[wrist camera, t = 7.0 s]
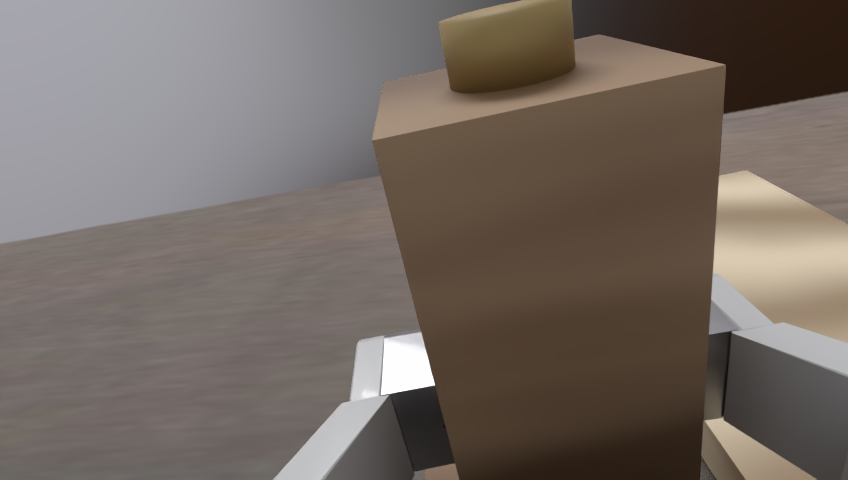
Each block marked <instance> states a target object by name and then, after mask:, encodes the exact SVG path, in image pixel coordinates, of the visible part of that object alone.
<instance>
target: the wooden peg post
mask: <svg viewBox="0 0 848 480" xmlns="http://www.w3.org/2000/svg"><path fill="white" fill-rule="evenodd" d="M439 28H440V33H441V39H442V45H443V50H444V56H445V62H446V67H447V68H445V69H440V70H436V71H431V72H427V73H422V74H418V75H413V76H408V77H404V78H400V79H395V80H390V81H386V82H383V87H382V92H381V98H380V102H379V108H378V113H377V118H376V123H375V128H374V133H373V138H372V143H373V147H374V150H375V154H376V158H377V162H378V166H379V170H380V174H381V178H382V182H383V185H384V189H385V193H386V197H387V201H388V205H389V209H390V213H391V217H392V220H393V224H394V228H395V232H396V236H397V240H398V244H399V248H400V251H401V255H402V259H403V263H404V267H405V271H406V275H407V279H408V283H409V286H410V290H411V294H412V298H413V302H414V306H415V310H416V314H417V318H418V321H419V325H420V329H421V333H422V337H423V341H424V345H425V349H426V353H427V356H428V360H429V364H430V368H431V372H432V376H433V380H434V384H435V387H436V391H437V395H438V399H439V403H440V407H441V411H442V415H443V419H444V422H445V426H446V430H447V434H448V438H449V442H450V446H451V450H452V454H453V457H454V461H455V463H454V464H449V465H444V466H439V467H434V468H429V469H425V480H700V467H701V452H702V436H703V420H704V404H705V388H706V373H707V357H708V341H709V325H710V310H711V294H712V278H713V262H714V246H715V231H716V215H717V199H718V183H719V168H720V152H721V136H722V120H723V104H724V88H725V73H726V65H724V64H720V63H716V62H712V61H707V60H703V59H699V58H695V57H691V56H687V55H683V54H679V53H674V52H670V51H666V50H662V49H658V48H654V47H649V46H645V45H641V44H637V43H633V42H629V41H624V40H620V39H616V38H612V37H608V36H603V35H595V36H590V37H585V38H581V39H577V40H574V34H573V33H574V32H573V17H572V3H571V0H522V1H517V2H512V3H507V4H502V5H498V6H493V7H489V8H484V9H480V10H477V11H472V12H469V13H465V14H462V15H458V16H454V17H451V18H448V19H445V20H443V21H440V22H439Z"/></svg>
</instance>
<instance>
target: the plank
mask: <svg viewBox="0 0 848 480" xmlns="http://www.w3.org/2000/svg"><path fill="white" fill-rule="evenodd" d="M713 273H715V274H719V275H720V276H721V277H722V278H723V279H725V280H726V281H727V282H728V283H729V284H730V285H731V286H732V287H733V288H735V289H736V290H737V291H738V292H739V293H740V294H741V295H742V296H744V297H745V298H746V299H747V300H748V301H749V302H750V303H751V304H753V305H754V306H755V307H756V308H757V309H758V310H759V311H760V312H762V313H763V314H764V315H765V316H766V317H767V318H768V319H769V320H771V321H772V322H773V323H774V324H777V323H782V322H784V323H787V324H790V325H793V326H796V327H800V328H803V329H806V330H809V331H812V332H815V333H818V334H821V335H824V336H827V337H830V338H833V339H836V340H839V341H842V342H845V343H848V224H846V223H844V222H842V221H840V220H839V219H837V218H835V217H833V216H831V215H829V214H827V213H825V212H824V211H822V210H820V209H818V208H816V207H814V206H812V205H810V204H809V203H807V202H805V201H803V200H801V199H799V198H797V197H795V196H794V195H792V194H790V193H788V192H786V191H784V190H782V189H780V188H779V187H777V186H775V185H773V184H771V183H769V182H767V181H765V180H764V179H762V178H760V177H758V176H756V175H754V174H752V173H750V172H749V171H747V170H745V171H740V172H735V173H730V174H725V175H721V176H719V183H718V199H717V215H716V231H715V246H714V262H713ZM723 419H724V418H719V419H712V420H705V421H703V436H702V452H701V456H702V458H703V459H704V461H705V463H706V464H707V466H708V467H709V469H710V470H711V472H712V474H713V475H714V477H715V478H716V480H817V479H816V478H814V477H813V476H811V475H809V474H808V473H806V472H805V471H803V470H801V469H800V468H798V467H797V466H795V465H794V464H792V463H790V462H789V461H787V460H786V459H784V458H782V457H781V456H779V455H778V454H776V453H775V452H773V451H771V450H770V449H768V448H767V447H765V446H763V445H762V444H760V443H759V442H757V441H756V440H754V439H752V438H751V437H749V436H748V435H746V434H744V433H743V432H741V431H740V430H738V429H736V428H735V427H733V426H732V425H730V424H729V423H727V422H725V421H724V420H723Z"/></svg>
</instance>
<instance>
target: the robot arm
mask: <svg viewBox="0 0 848 480" xmlns="http://www.w3.org/2000/svg"><path fill="white" fill-rule="evenodd" d="M719 418H724V419H723V420H724V421H725V422H727V423H729V424H730V425H732V426H733V427H735V428H736V429H738V430H740V431H741V432H743V433H744V434H746V435H748V436H749V437H751V438H752V439H754V440H756V441H757V442H759V443H760V444H762V445H763V446H765V447H767V448H768V449H770V450H771V451H773V452H775V453H776V454H778V455H779V456H781V457H782V458H784V459H786V460H787V461H789V462H790V463H792V464H794V465H795V466H797V467H798V468H800V469H801V470H803V471H805V472H806V473H808V474H809V475H811V476H813V477H814V478H816V479H817V480H848V343H845V342H842V341H839V340H836V339H833V338H830V337H827V336H824V335H821V334H818V333H815V332H812V331H809V330H806V329H803V328H800V327H796V326H793V325H790V324H787V323H784V322H782V323H777V324H774V323H773V322H772V321H771V320H769V319H768V318H767V317H766V316H765V315H764V314H763V313H762V312H760V311H759V310H758V309H757V308H756V307H755V306H754V305H753V304H751V303H750V302H749V301H748V300H747V299H746V298H745V297H744V296H742V295H741V294H740V293H739V292H738V291H737V290H736V289H735V288H733V287H732V286H731V285H730V284H729V283H728V282H727V281H726V280H725V279H723V278H722V277H721V276H720V275H719V274H715V273H713V278H712V294H711V310H710V325H709V341H708V357H707V373H706V388H705V404H704V420H703V421H705V420H712V419H719ZM454 463H455V461H454V457H453V454H452V450H451V446H450V442H449V438H448V434H447V430H446V426H445V422H444V419H443V415H442V411H441V407H440V403H439V399H438V395H437V391H436V387H435V384H434V380H433V376H432V372H431V368H430V364H429V360H428V356H427V353H426V349H425V345H424V341H423V337H422V333H421V329H419V330H414V331H408V332H402V333H396V334H390V335H386V336H379V337H373V338H368V339H363V340H360V341H359V342H358V344H357V347H356V355H355V362H354V370H353V378H352V385H351V393H350V401H349V402H346V403H341V404H340V406H339V407H338V408H337V409H336V410H335V411H334V412H333V413H332V415H331V416H330V417H329V418H328V419H327V420H326V421H325V422H324V424H323V425H322V426H321V427H320V428H319V429H318V430H317V431H316V432H315V434H314V435H313V436H312V437H311V438H310V439H309V440H308V441H307V443H306V444H305V445H304V446H303V447H302V448H301V449H300V450H299V451H298V453H297V454H296V455H295V456H294V457H293V458H292V459H291V460H290V462H289V463H288V464H287V465H286V466H285V467H284V468H283V469H282V471H281V472H280V473H279V474H278V475H277V476H276V477H275V478H274V479H273V480H412V478H413V477H414V475H415V474H414V472H415V471H420V470H425V469H429V468H434V467H439V466H444V465H449V464H454Z"/></svg>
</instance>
